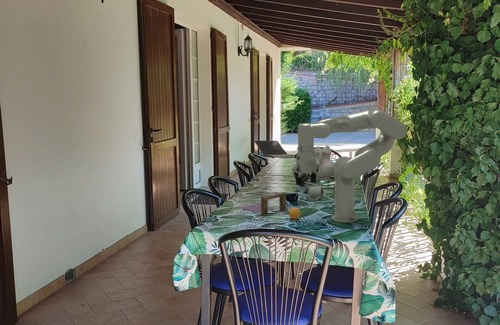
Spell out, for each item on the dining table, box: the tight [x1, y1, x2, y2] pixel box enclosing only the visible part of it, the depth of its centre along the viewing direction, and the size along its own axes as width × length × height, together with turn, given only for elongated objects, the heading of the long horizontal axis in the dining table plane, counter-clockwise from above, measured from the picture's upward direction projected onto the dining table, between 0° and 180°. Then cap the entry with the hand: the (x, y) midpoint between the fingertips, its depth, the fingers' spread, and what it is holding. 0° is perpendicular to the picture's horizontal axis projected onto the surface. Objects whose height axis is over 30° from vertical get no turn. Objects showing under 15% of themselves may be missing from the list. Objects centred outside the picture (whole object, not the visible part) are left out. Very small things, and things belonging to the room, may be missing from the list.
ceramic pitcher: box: [309, 145, 335, 182], centre depth 326 cm, size 22×20×25 cm
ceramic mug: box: [307, 186, 325, 202], centre depth 267 cm, size 11×8×8 cm
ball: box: [288, 207, 302, 220], centre depth 226 cm, size 6×6×6 cm
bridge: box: [260, 192, 287, 217], centre depth 238 cm, size 3×15×10 cm, turn 128°
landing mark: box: [241, 203, 274, 213], centre depth 249 cm, size 13×13×1 cm
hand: (306, 183), depth 219 cm, fingers open, 9 cm apart
